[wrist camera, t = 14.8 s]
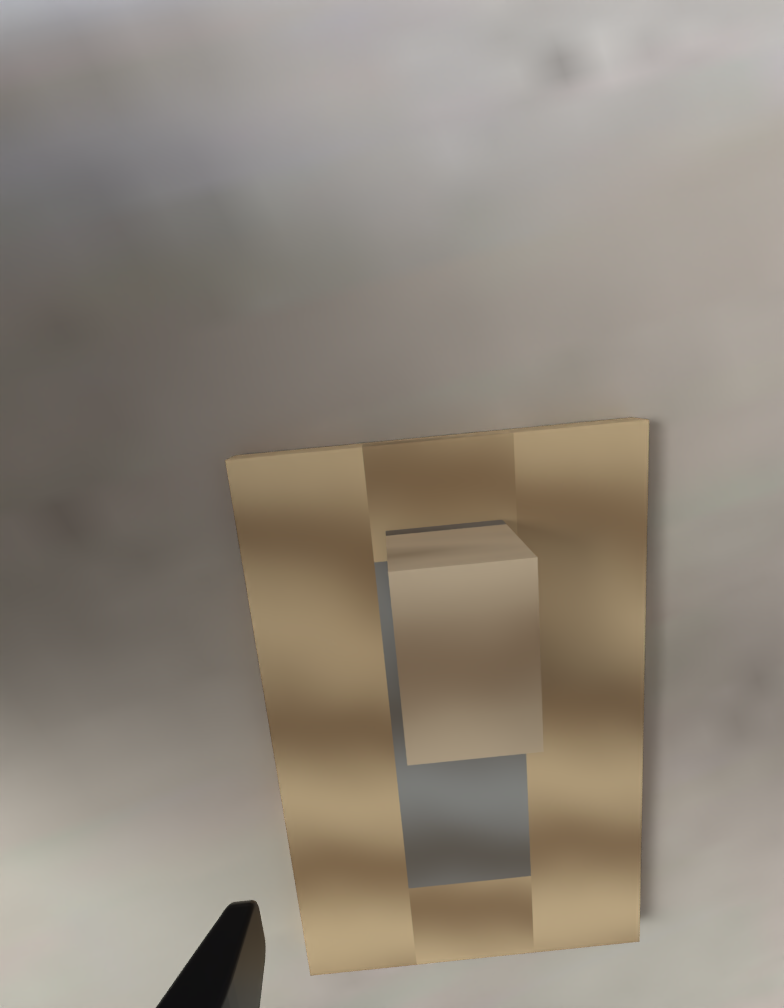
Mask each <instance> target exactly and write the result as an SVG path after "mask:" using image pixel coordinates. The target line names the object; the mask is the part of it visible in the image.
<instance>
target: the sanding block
mask: <svg viewBox="0 0 784 1008" xmlns="http://www.w3.org/2000/svg"><path fill="white" fill-rule="evenodd" d="M386 547H387V563H388V577H389V587H390V597H391V607H392V617H393V627H394V637H395V647H396V657H397V667H398V677H399V687H400V697H401V707H402V717H403V727H404V737H405V747H406V757H407V766H408V765H418V764H428V763H437V762H447V761H457V760H467V759H477V758H487V757H497V756H507V755H517V754H527V753H537V752H544V750H543V718H542V686H541V654H540V622H539V590H538V557H537V556H536V555H535V554H534V553H533V552H532V551H531V550H530V549H529V548H528V547H527V546H526V545H525V543H524V542H523V541H522V540H521V539H520V538H519V537H518V536H517V535H516V534H515V533H514V532H513V531H512V530H511V528H510V527H509V526H508V525H507V524H506V523H505V522H504V521H503V520H492V521H482V522H472V523H462V524H451V525H441V526H431V527H421V528H410V529H400V530H390V531H386Z"/></svg>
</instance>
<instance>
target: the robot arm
mask: <svg viewBox="0 0 784 1008" xmlns="http://www.w3.org/2000/svg"><path fill="white" fill-rule="evenodd" d="M264 964H265V937H264V932H263V927H262V921H261V916H260V911H259V906H258V904H257V902H256V901H254V900H249V901H239V902H233V903H231V904H230V905H228V906H227V907H226V909H225V910H224V912H223V913H222V914H221V916H220V917H219V919H218V920H217V922H216V923H215V924H214V926H213V927H212V929H211V930H210V931H209V933H208V934H207V936H206V937H205V939H204V940H203V941H202V943H201V944H200V946H199V947H198V949H197V950H196V951H195V953H194V954H193V956H192V957H191V958H190V960H189V961H188V963H187V964H186V966H185V967H184V968H183V970H182V971H181V973H180V974H179V976H178V977H177V978H176V980H175V981H174V983H173V984H172V986H171V987H170V988H169V990H168V991H167V993H166V994H165V995H164V997H163V998H162V1000H161V1001H160V1003H159V1004H158V1005H157V1007H156V1008H259V1007H260V999H261V990H262V981H263V973H264Z"/></svg>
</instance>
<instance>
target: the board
mask: <svg viewBox="0 0 784 1008" xmlns="http://www.w3.org/2000/svg"><path fill="white" fill-rule="evenodd" d="M648 456H649V420H648V419H640V418H632V417H631V418H621V419H610V420H600V421H589V422H579V423H568V424H558V425H547V426H537V427H527V428H516V429H506V430H495V431H485V432H474V433H464V434H453V435H443V436H433V437H422V438H412V439H401V440H391V441H380V442H370V443H360V444H349V445H339V446H328V447H318V448H307V449H297V450H286V451H276V452H266V453H255V454H245V455H235V456H233V457H231V458H229V459H227V460H225V463H226V469H227V475H228V481H229V487H230V493H231V499H232V505H233V511H234V517H235V523H236V529H237V535H238V541H239V547H240V553H241V559H242V565H243V571H244V577H245V583H246V589H247V595H248V601H249V608H250V614H251V620H252V626H253V632H254V638H255V644H256V650H257V656H258V662H259V668H260V674H261V680H262V686H263V692H264V698H265V704H266V710H267V716H268V722H269V728H270V734H271V740H272V746H273V752H274V758H275V764H276V770H277V776H278V782H279V788H280V794H281V800H282V806H283V812H284V818H285V824H286V830H287V837H288V843H289V849H290V855H291V861H292V867H293V873H294V879H295V885H296V891H297V897H298V903H299V909H300V915H301V921H302V927H303V933H304V939H305V945H306V951H307V957H308V963H309V969H310V975H311V976H312V975H321V974H331V973H340V972H350V971H360V970H369V969H379V968H389V967H398V966H408V965H418V964H427V963H437V962H447V961H456V960H466V959H475V958H485V957H495V956H504V955H514V954H524V953H533V952H543V951H553V950H562V949H572V948H582V947H591V946H601V945H610V944H620V943H630V942H639V936H640V883H641V830H642V776H643V723H644V670H645V616H646V563H647V510H648ZM492 520H503V521H504V522H505V523H506V524H507V525H508V526H509V527H510V528H511V530H512V531H513V532H514V533H515V534H516V535H517V536H518V537H519V538H520V539H521V540H522V541H523V542H524V543H525V545H526V546H527V547H528V548H529V549H530V550H531V551H532V552H533V553H534V554H535V555H536V556H537V557H538V590H539V622H540V654H541V686H542V718H543V750H544V752H537V753H527V754H517V755H507V756H497V757H487V758H477V759H467V760H457V761H447V762H437V763H428V764H418V765H408V766H407V757H406V747H405V737H404V727H403V717H402V707H401V697H400V687H399V677H398V667H397V657H396V647H395V637H394V627H393V617H392V607H391V597H390V587H389V577H388V563H387V547H386V531H390V530H400V529H410V528H421V527H431V526H441V525H451V524H462V523H472V522H482V521H492Z"/></svg>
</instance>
